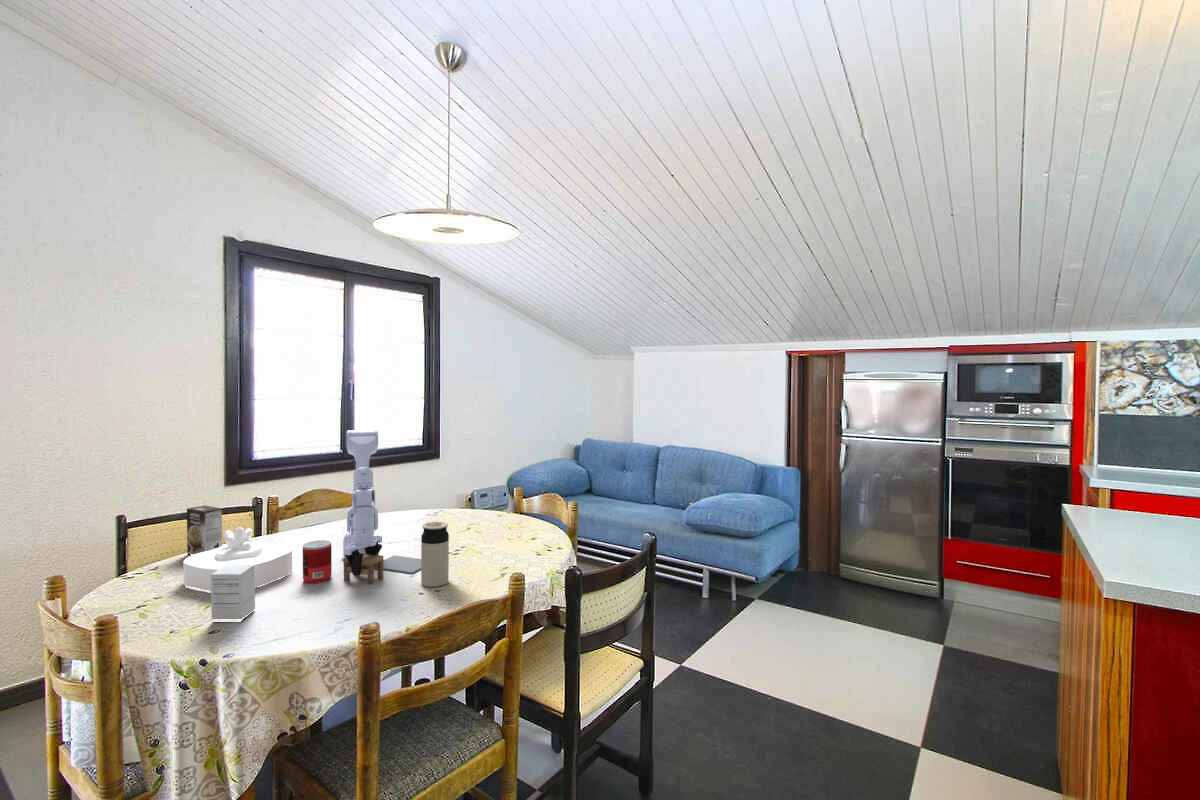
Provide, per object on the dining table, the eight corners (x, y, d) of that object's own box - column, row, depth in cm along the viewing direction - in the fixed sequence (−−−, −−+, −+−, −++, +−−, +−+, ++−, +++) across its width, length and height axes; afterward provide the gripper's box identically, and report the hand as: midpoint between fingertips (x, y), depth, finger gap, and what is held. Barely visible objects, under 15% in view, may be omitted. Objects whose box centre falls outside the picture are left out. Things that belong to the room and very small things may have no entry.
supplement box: (226, 611, 154) (226, 564, 153) (255, 611, 154) (255, 564, 154) (210, 623, 146) (209, 574, 146) (241, 623, 147) (240, 573, 146)
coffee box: (186, 555, 198) (185, 508, 197) (205, 550, 204) (204, 504, 203) (204, 559, 195) (203, 511, 194) (223, 553, 201) (222, 507, 200)
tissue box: (169, 586, 171) (168, 532, 170) (247, 560, 194) (246, 513, 194) (230, 599, 162) (230, 542, 162) (304, 571, 186) (304, 521, 185)
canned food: (337, 576, 181) (337, 541, 180) (316, 585, 173) (316, 549, 173) (317, 573, 183) (317, 538, 183) (296, 582, 176) (296, 546, 175)
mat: (370, 567, 189) (370, 566, 189) (394, 556, 200) (394, 555, 200) (412, 574, 184) (412, 572, 184) (434, 562, 195) (434, 560, 195)
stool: (343, 580, 178) (343, 557, 177) (356, 574, 183) (356, 552, 183) (371, 584, 175) (371, 561, 174) (383, 578, 180) (383, 555, 180)
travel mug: (424, 589, 171) (424, 529, 171) (419, 580, 178) (419, 522, 178) (451, 585, 175) (451, 526, 174) (445, 576, 182) (445, 520, 181)
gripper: (357, 535, 170) (357, 581, 171) (390, 523, 184) (390, 565, 184) (338, 532, 172) (338, 577, 173) (371, 521, 186) (371, 563, 187)
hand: (363, 571), depth 179 cm, fingers open, 6 cm apart
